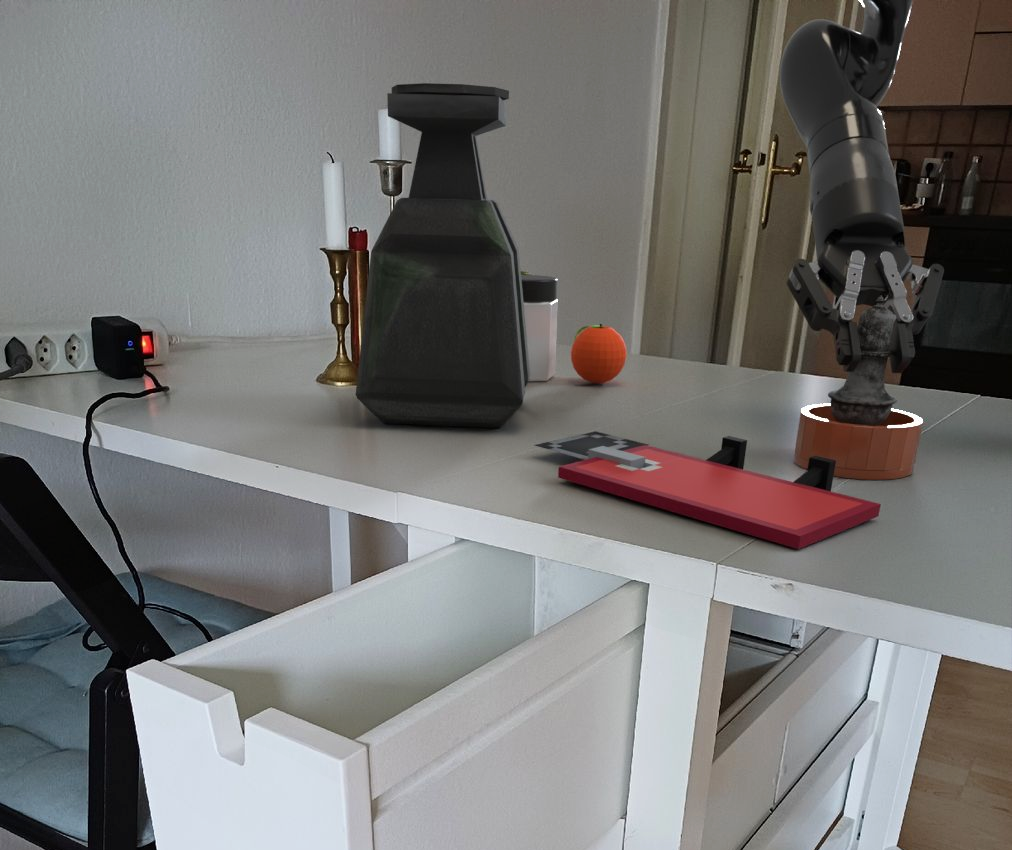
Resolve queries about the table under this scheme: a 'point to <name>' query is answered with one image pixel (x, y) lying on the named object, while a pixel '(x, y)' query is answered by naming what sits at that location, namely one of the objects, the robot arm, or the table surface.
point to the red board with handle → (716, 487)
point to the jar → (540, 324)
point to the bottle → (445, 277)
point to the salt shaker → (867, 373)
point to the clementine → (598, 353)
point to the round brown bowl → (859, 444)
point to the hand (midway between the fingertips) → (877, 366)
